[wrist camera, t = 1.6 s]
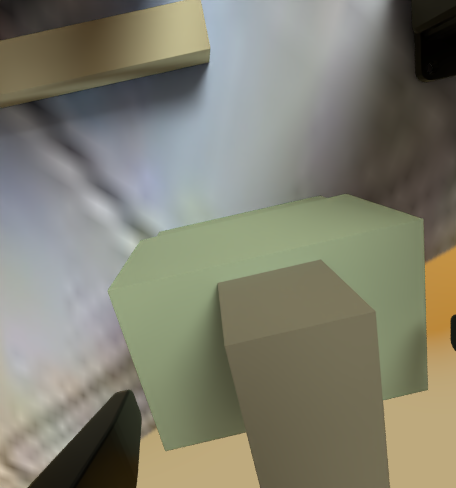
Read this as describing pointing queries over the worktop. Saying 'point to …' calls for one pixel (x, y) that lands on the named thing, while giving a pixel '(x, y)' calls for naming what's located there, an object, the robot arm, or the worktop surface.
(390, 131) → the worktop surface
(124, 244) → the worktop surface
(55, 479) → the robot arm
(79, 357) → the worktop surface
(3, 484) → the worktop surface
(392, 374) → the pale green blocky piece
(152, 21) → the wooden board
